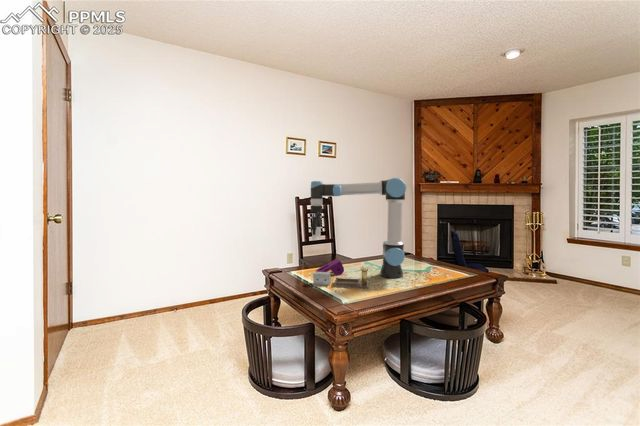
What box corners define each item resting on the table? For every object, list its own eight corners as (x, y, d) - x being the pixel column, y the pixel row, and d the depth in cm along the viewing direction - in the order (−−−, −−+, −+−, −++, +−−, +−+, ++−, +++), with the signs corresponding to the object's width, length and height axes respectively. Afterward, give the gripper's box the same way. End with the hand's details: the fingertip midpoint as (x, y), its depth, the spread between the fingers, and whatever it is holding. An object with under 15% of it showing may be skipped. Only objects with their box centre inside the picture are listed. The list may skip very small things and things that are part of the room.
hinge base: (368, 282, 203) (368, 266, 203) (368, 288, 192) (368, 271, 191) (336, 281, 207) (336, 265, 206) (334, 286, 195) (334, 270, 194)
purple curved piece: (322, 284, 220) (345, 272, 223) (316, 273, 219) (340, 261, 221) (319, 280, 230) (342, 268, 232) (314, 270, 228) (337, 258, 231)
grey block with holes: (330, 283, 203) (330, 272, 202) (329, 285, 198) (329, 274, 197) (314, 282, 204) (314, 271, 204) (313, 285, 199) (313, 273, 199)
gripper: (314, 204, 223) (314, 235, 224) (306, 206, 198) (306, 241, 200) (325, 204, 221) (325, 235, 223) (318, 206, 197) (318, 241, 198)
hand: (316, 238), depth 211 cm, fingers open, 13 cm apart
